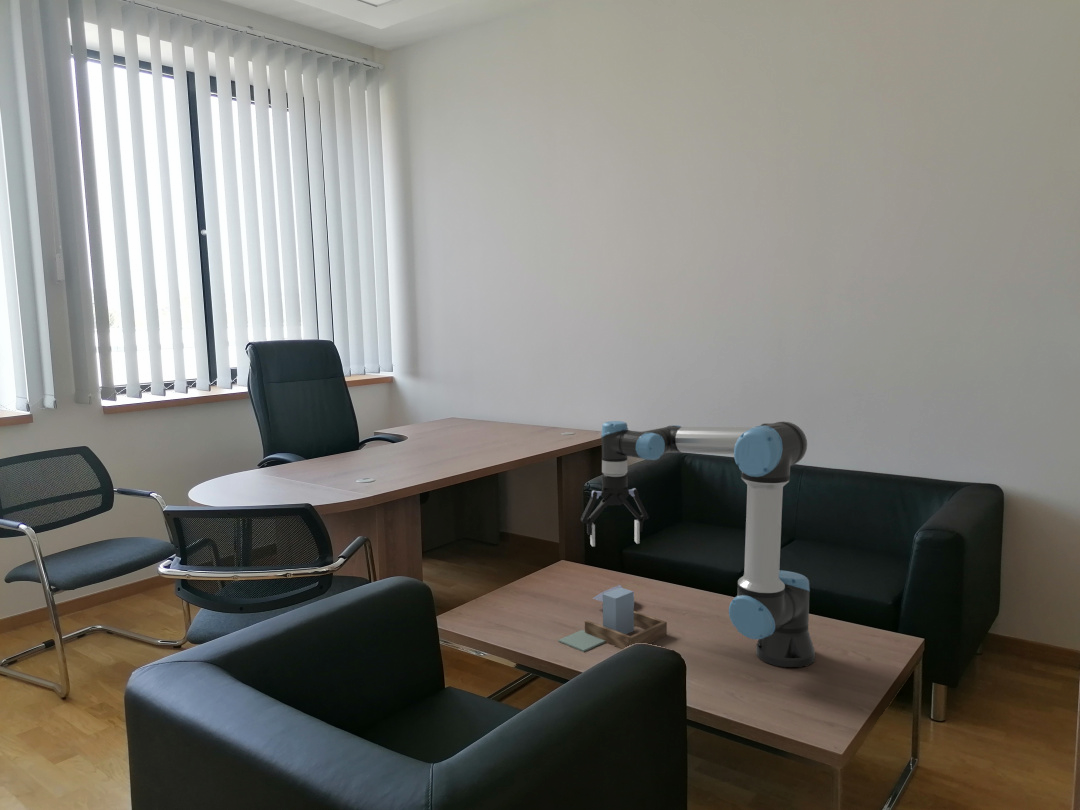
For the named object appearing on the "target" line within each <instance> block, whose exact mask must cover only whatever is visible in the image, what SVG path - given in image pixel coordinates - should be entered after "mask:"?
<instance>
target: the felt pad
mask: <svg viewBox="0 0 1080 810" xmlns="http://www.w3.org/2000/svg"><path fill="white" fill-rule="evenodd" d="M557 641H558V642H559V643H560V644H563V645H565V646H568V647H570V648H573V649H575V650H578V651H581V652H582V653H584V652H586V651H590V650H592V649H593V648H595V647H598V646H600V645H603V644H605V643H606V642H605V640H603V639H600V638H597V637H595V636H592V635H590V634H587V633H585V629H580V630H579V631H576V632H574V633H572V634H569V635H566V636H565V637H562V638H559V639H558V640H557Z"/></svg>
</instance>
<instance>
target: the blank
mask: <svg viewBox="0 0 1080 810" xmlns="http://www.w3.org/2000/svg"><path fill="white" fill-rule="evenodd" d="M634 593H635V592H634V591H632V590H630V589H627V588H624V587H622V588H621V587H620V588H618V589H615V590H613V591H610V592H607V593H605V594H603V602H602V626H604V627H607V628H610V629H612V630H615V631H618V632H620V633H623V634H626V635H628V634H629V633H632V632H634V631H635V627H634V611H635V594H634Z"/></svg>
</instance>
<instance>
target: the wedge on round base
mask: <svg viewBox="0 0 1080 810" xmlns="http://www.w3.org/2000/svg"><path fill="white" fill-rule="evenodd" d="M620 587H621V588H623V586H622V585H621V584H618V585H616V586H613V587H610V588H609V589H606V590H604V591H602V592H600V593H598V594H597V595H595V596H594V597H592V600H596V601H597V602H602V603H603V594H605V593H607V592H610V591H613V590H615V589H618V588H620Z"/></svg>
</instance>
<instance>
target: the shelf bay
mask: <svg viewBox="0 0 1080 810" xmlns="http://www.w3.org/2000/svg"><path fill="white" fill-rule="evenodd" d="M667 625H668V623H667V621H665V620H662V619H660V618H659V619H658V618H656V617H653V616H650V615H647V614H644V613H641V612H638V611H635V610H634V626H635V627H637V628H640V629H642V630H641V631H638V632H636V633H635V634H632V635H628V634H623V633H620V632H618V631H615V630H612V629H610V628H607V627H604V626H603V625H602V624H598V623H595V622H593V621H590V620H588V619H586V620H585V621H584V631H585V633H587V634H590V635H592V636H595V637H597V638H600V639H603V640H605V643H606V644H609V645H611V646H614V647H617V648H619V649H622V650H624V649H623V648H625V647H627V646H629V645H632V644H635V643H649V644H651V643H653V642H655V641H657V640H660V639H662V638H664V637H665V636H667V635H668V634H667V633H668V631H667V630H668V627H667Z"/></svg>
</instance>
